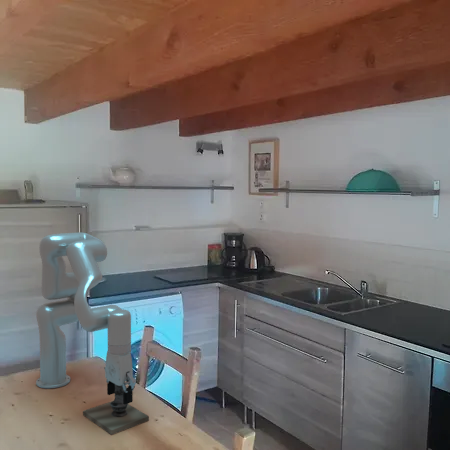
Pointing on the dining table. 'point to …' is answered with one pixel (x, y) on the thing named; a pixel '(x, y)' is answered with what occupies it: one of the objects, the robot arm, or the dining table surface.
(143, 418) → the serving board
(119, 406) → the dark grey chess piece
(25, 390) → the dining table surface
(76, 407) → the dining table surface
